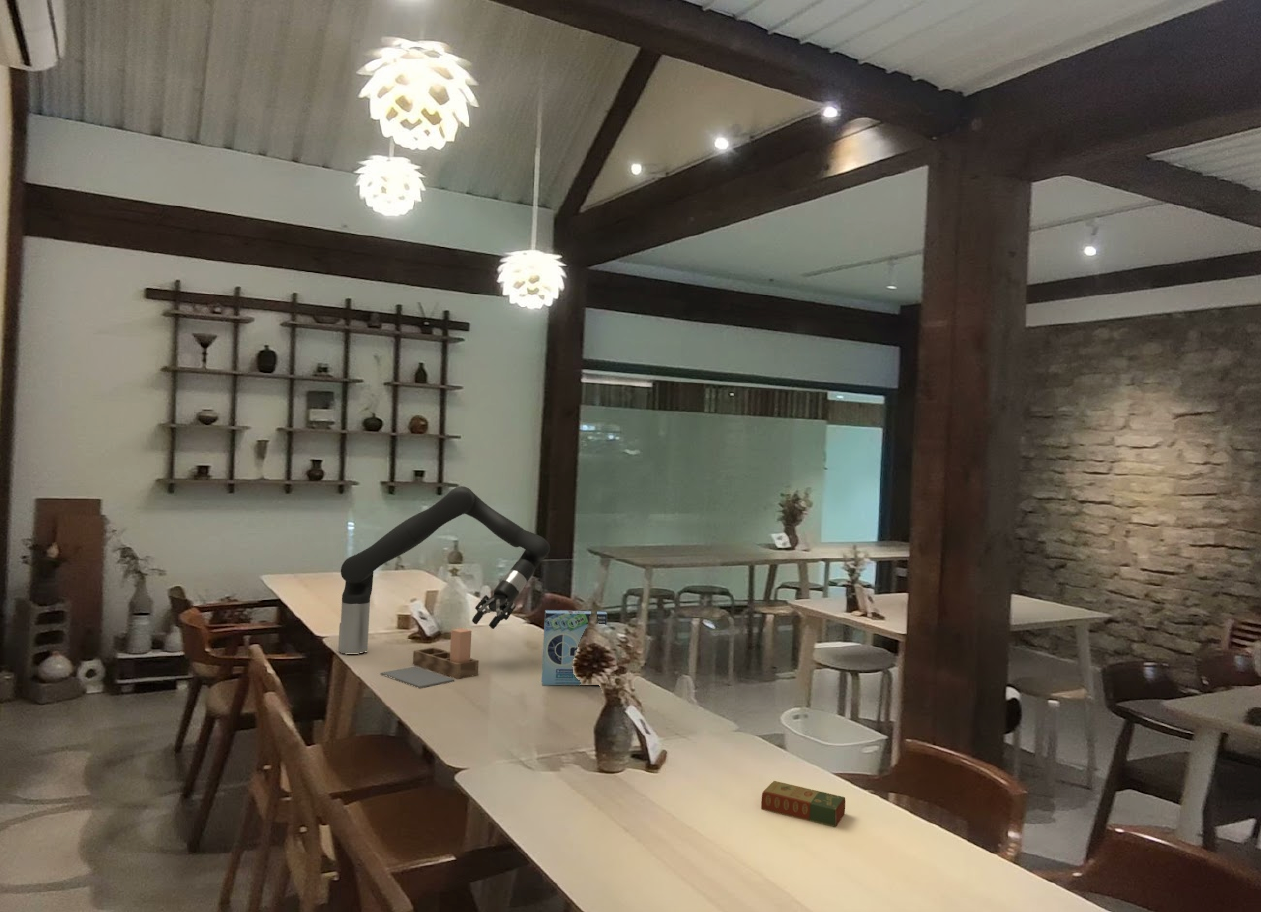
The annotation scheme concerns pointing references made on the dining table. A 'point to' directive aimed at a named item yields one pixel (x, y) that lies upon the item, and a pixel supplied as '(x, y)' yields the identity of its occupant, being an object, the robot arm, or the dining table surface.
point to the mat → (418, 677)
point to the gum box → (563, 644)
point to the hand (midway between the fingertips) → (482, 624)
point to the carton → (803, 803)
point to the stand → (444, 663)
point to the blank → (460, 645)
